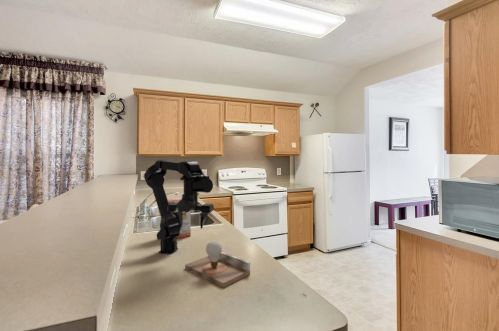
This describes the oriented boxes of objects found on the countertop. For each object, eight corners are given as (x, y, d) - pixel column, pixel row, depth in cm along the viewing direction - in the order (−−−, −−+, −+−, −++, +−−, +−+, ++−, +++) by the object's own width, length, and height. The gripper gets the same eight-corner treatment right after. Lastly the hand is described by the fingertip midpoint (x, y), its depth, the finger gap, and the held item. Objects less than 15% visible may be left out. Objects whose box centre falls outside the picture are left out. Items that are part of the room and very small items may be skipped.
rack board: (185, 268, 99) (184, 257, 99) (211, 258, 109) (211, 248, 109) (223, 287, 84) (223, 274, 84) (250, 274, 94) (250, 262, 94)
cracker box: (164, 240, 133) (163, 200, 132) (162, 237, 138) (161, 198, 137) (191, 236, 139) (190, 198, 138) (188, 233, 145) (187, 196, 144)
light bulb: (204, 266, 97) (203, 239, 97) (219, 263, 100) (218, 237, 100) (209, 272, 92) (208, 244, 92) (224, 268, 95) (224, 242, 94)
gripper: (160, 193, 102) (160, 232, 103) (204, 194, 99) (205, 234, 99) (173, 189, 113) (174, 225, 114) (214, 190, 110) (214, 226, 110)
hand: (191, 227), depth 109 cm, fingers open, 9 cm apart
